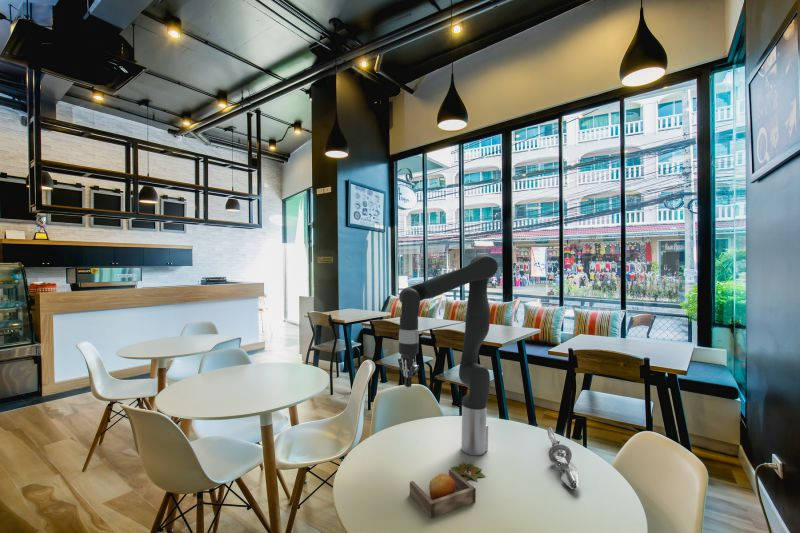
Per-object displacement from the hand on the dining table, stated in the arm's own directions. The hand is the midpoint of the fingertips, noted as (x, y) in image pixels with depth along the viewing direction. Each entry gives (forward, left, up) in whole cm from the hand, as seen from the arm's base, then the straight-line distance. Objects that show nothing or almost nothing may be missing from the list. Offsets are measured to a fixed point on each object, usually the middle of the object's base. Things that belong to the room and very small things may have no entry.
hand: (407, 386), depth 140 cm
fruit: (+4, +29, -25) cm, 39 cm away
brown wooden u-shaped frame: (+4, +29, -25) cm, 38 cm away
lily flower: (-12, +21, -26) cm, 35 cm away
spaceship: (-45, +33, -25) cm, 61 cm away
